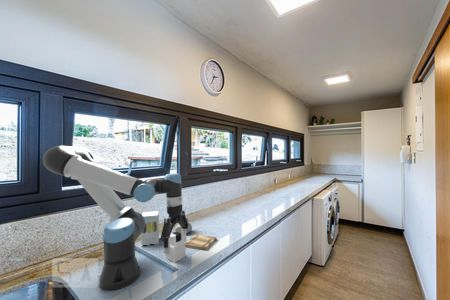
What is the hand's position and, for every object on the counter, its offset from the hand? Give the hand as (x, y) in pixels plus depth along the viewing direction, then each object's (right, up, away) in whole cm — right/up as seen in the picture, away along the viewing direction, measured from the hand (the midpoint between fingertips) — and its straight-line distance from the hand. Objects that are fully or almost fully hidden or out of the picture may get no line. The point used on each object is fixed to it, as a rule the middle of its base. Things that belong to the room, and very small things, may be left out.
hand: (176, 247), depth 101 cm
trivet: (+10, -5, +15) cm, 19 cm away
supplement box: (-20, -6, +19) cm, 28 cm away
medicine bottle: (0, -5, 0) cm, 5 cm away
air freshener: (-3, -6, +31) cm, 32 cm away
